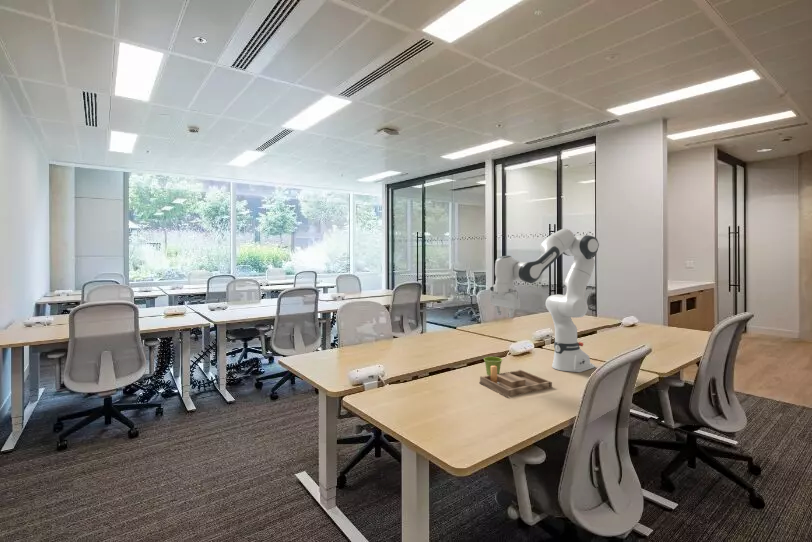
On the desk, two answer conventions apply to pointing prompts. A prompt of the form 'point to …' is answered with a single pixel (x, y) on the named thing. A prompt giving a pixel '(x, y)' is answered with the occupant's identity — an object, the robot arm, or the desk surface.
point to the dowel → (494, 374)
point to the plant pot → (492, 364)
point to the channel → (515, 383)
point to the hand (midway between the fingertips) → (504, 315)
